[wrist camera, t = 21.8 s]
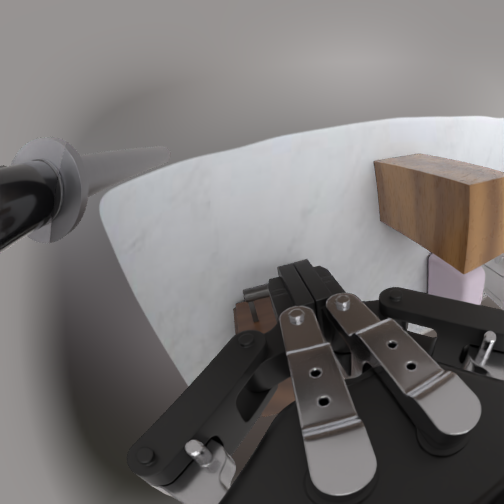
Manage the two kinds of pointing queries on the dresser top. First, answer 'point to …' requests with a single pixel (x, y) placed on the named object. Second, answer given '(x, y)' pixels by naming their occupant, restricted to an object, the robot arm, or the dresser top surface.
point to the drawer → (256, 310)
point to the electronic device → (455, 281)
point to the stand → (444, 207)
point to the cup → (495, 280)
